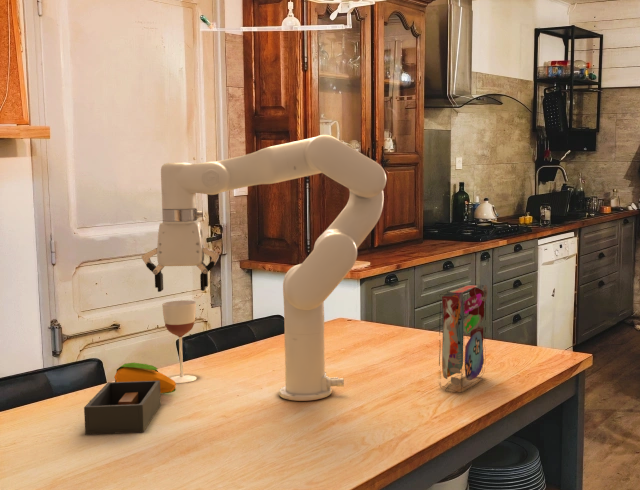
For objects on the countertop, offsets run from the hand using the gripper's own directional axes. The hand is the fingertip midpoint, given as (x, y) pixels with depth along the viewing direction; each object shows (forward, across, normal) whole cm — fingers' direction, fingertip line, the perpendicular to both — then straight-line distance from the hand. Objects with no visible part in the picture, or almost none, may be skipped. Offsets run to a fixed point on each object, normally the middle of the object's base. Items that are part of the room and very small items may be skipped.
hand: (181, 290), depth 180 cm
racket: (+26, +11, +12) cm, 30 cm away
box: (+26, -70, -9) cm, 75 cm away
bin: (+26, +11, +12) cm, 31 cm away
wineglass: (+26, +4, -20) cm, 33 cm away
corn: (+26, +10, -7) cm, 29 cm away
